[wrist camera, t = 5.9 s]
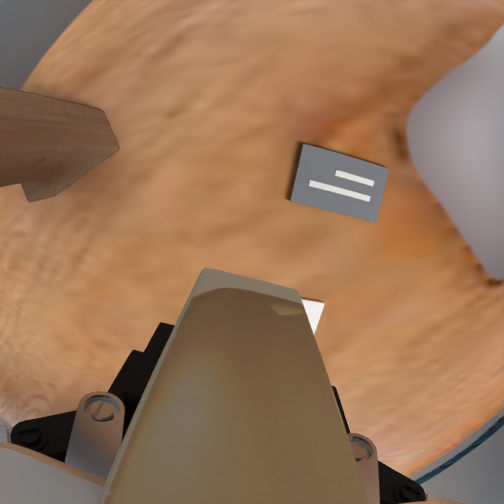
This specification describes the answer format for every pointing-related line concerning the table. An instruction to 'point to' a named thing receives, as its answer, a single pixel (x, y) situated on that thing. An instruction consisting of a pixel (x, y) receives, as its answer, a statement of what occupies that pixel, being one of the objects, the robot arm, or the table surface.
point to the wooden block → (49, 142)
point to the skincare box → (237, 408)
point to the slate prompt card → (339, 183)
